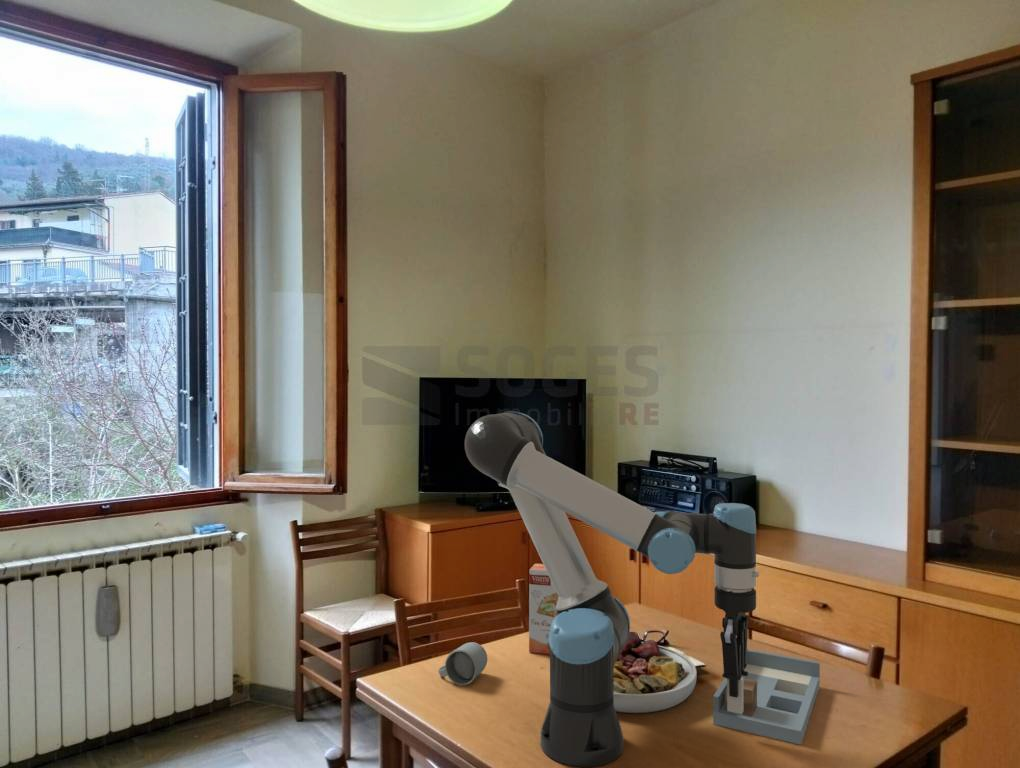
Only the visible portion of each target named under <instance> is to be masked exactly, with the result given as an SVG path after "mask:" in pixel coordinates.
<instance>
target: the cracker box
mask: <svg viewBox="0 0 1020 768" xmlns="http://www.w3.org/2000/svg"><path fill="white" fill-rule="evenodd" d="M528 571H529V572H528V573H529V583H528V585H529V587H528V588H529V589H528V590H529V591H528V592H529V594H528V595H529V597H528V599H529V600H528V603H529V605H528V606H529V607H528V608H529V609H528V610H529V611H528V613H529V614H528V615H529V616H528V652H529V653H531V654H543V655H549V656H550V645H549V634H550V628H551V624H552V621H553V620H554V618H555V617H556V616H557V615H558V613H557V610H556V605H557V602H558V595H557V592H556V590H555V588H554V586H553V584H552V582H551V579H550V577H549V575H548V573H547V571H546V569H545V567H544V564H543V563H534V564H533V565H532V567H531V568H530V569H529V570H528Z"/></svg>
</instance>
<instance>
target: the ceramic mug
mask: <svg viewBox="0 0 1020 768" xmlns="http://www.w3.org/2000/svg"><path fill="white" fill-rule="evenodd" d="M487 653H488V652H487V651H486V650H485V647H483V645H481V644H479V643H477V642H474V641H472V642H466V643H464V644H462V645H461V646H459V647H457V648H456V649H454V650H453V651H451V652H450V653H449V654H448V655H447V657H446V659H445V661H444V665H443V666H441V667H439V669H438V673H439V676H440V677H446V676H447V678H448V679H449V680H450V682H452V683H453V684H456V685H458V686H467V685H469V684H471V683H472V682H473V681H475V679H476V678H477V677H478V676H479V675H481V673H482V672H484V670H485V668H486V667H487V663H488V654H487Z"/></svg>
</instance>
